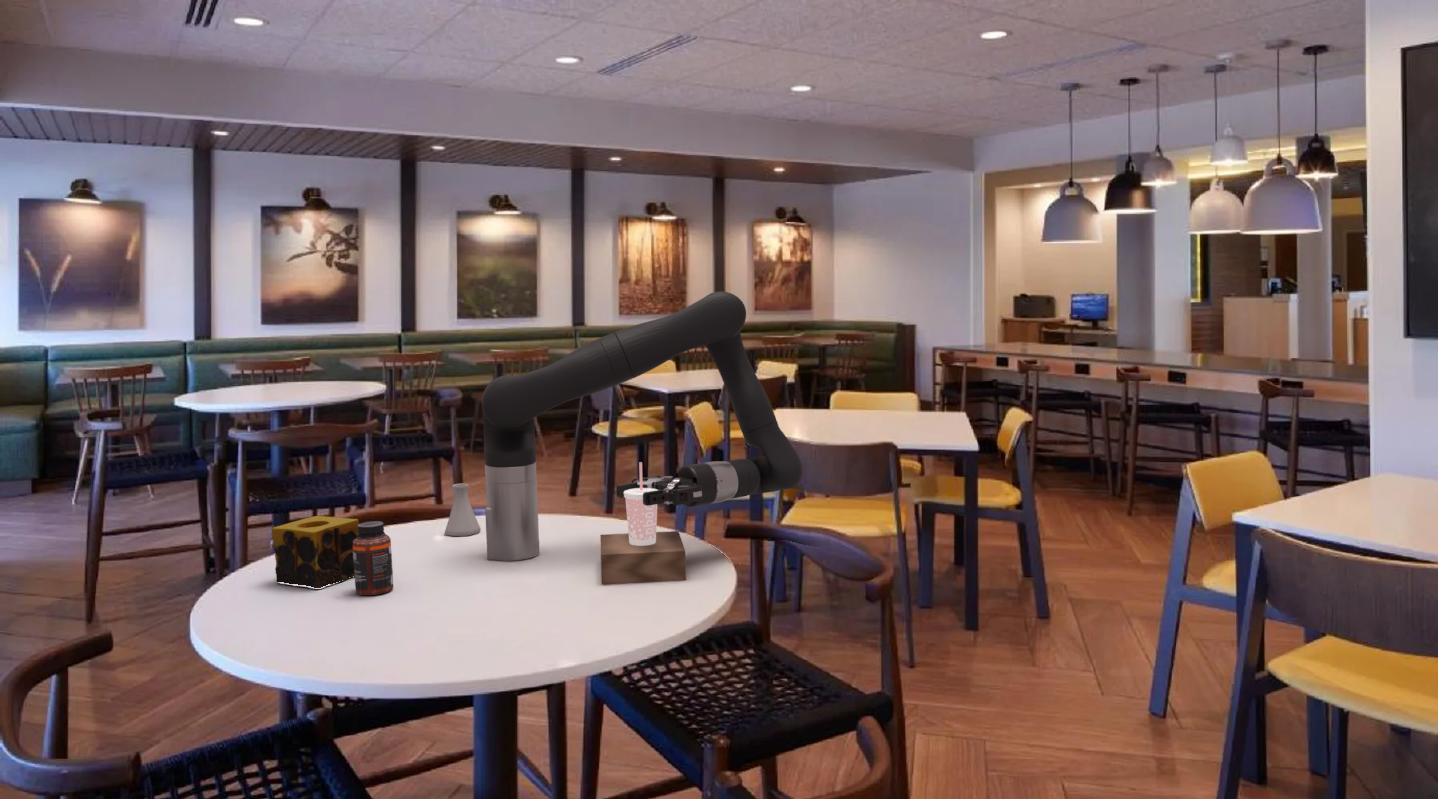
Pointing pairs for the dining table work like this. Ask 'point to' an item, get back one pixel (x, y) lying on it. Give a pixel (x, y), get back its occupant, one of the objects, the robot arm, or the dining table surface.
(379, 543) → the supplement bottle
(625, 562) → the walnut riser block
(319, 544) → the yellow tissue box cover
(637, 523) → the beverage cup
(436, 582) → the dining table surface
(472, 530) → the flask
